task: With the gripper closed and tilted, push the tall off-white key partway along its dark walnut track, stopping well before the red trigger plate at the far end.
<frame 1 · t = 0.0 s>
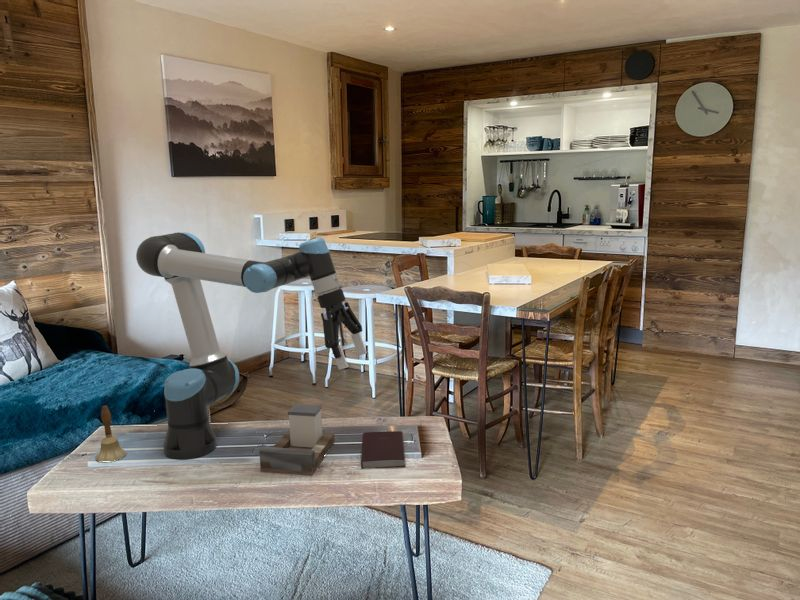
hand: (353, 361, 178), 28 cm above the table, tool tilted 20°, fingers open, 13 cm apart
hand bell: (111, 457, 183), on the table
key track: (301, 454, 182), on the table
book: (383, 454, 182), on the table
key: (305, 425, 186), point 7 cm above the table, slide at 0.0 cm
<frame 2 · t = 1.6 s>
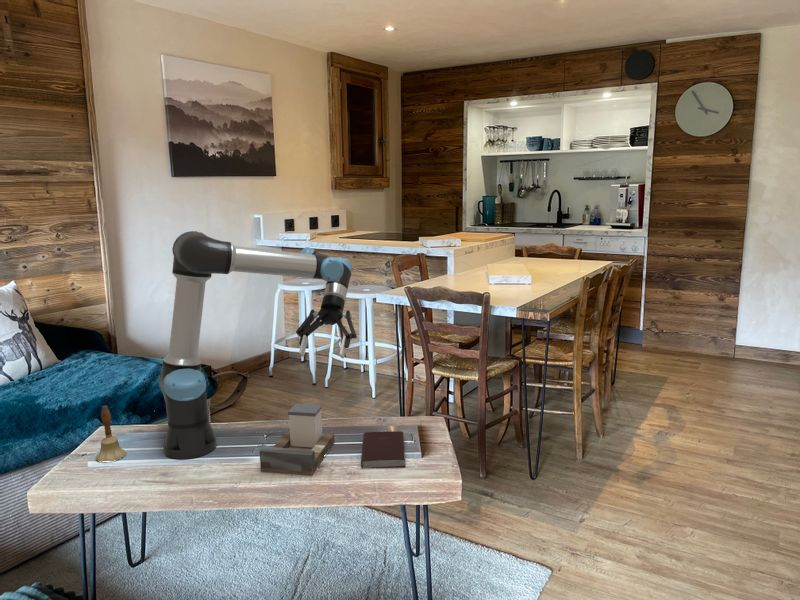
hand: (321, 355, 197), 24 cm above the table, tool tilted 45°, fingers open, 13 cm apart
nothing on the table moved.
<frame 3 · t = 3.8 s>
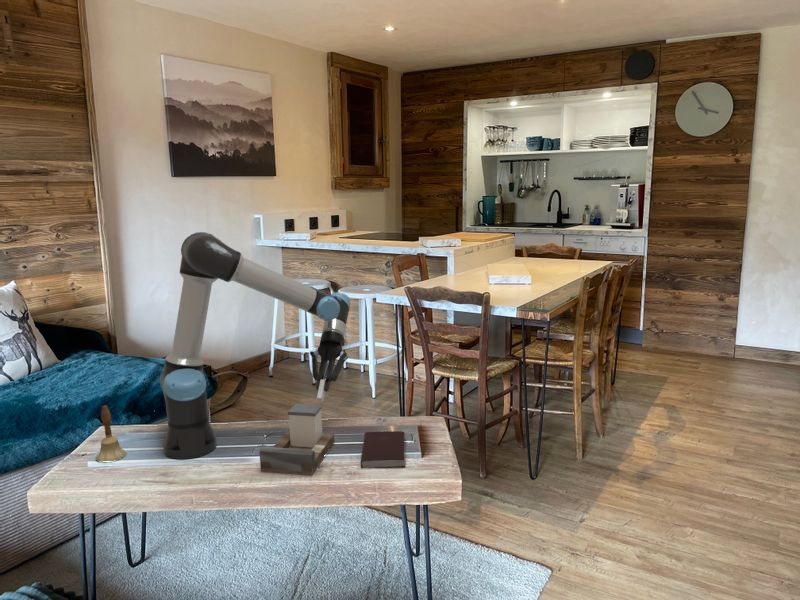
hand: (320, 399, 196), 10 cm above the table, tool tilted 45°, fingers closed
nothing on the table moved.
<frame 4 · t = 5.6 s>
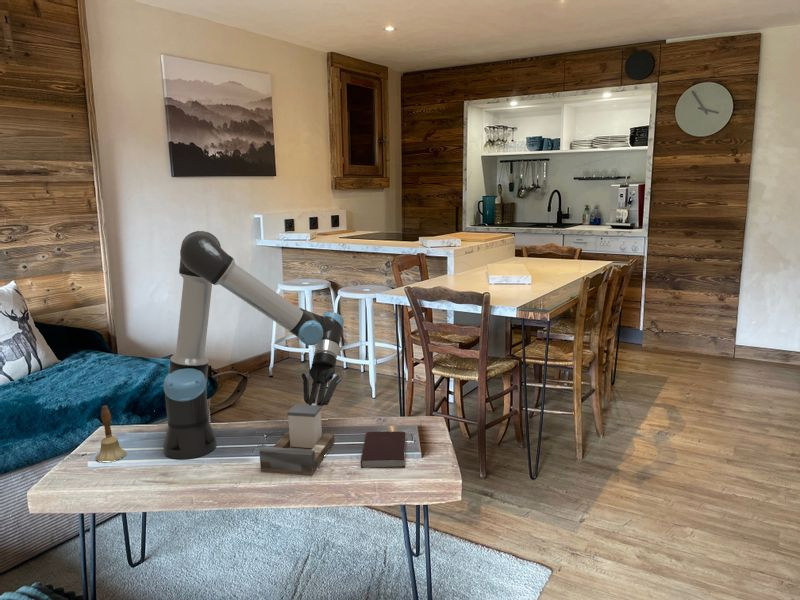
hand: (311, 424, 189), 5 cm above the table, tool tilted 45°, fingers closed
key: (305, 426, 185), point 7 cm above the table, slide at 0.4 cm, touching gripper
everything else where it was.
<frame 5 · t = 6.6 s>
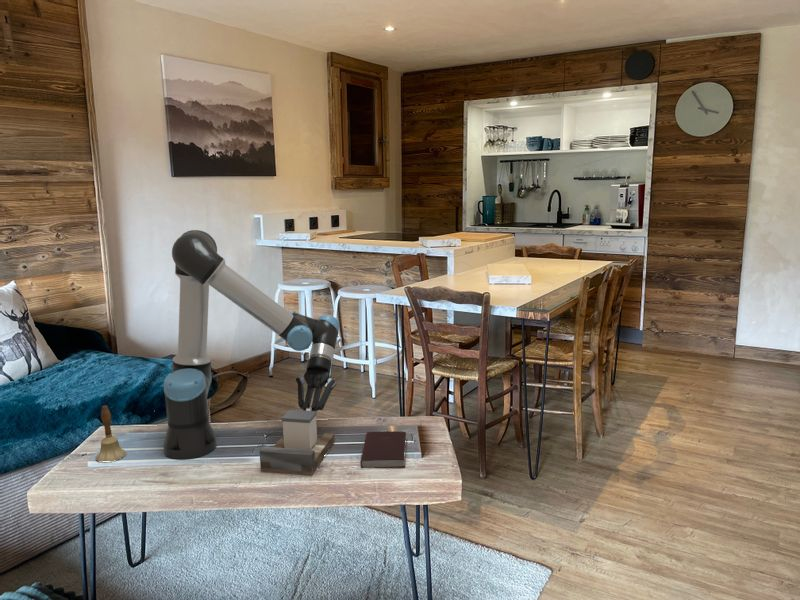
hand: (305, 430, 185), 6 cm above the table, tool tilted 45°, fingers closed
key: (300, 432, 181), point 7 cm above the table, slide at 4.9 cm, touching gripper
everything else where it was.
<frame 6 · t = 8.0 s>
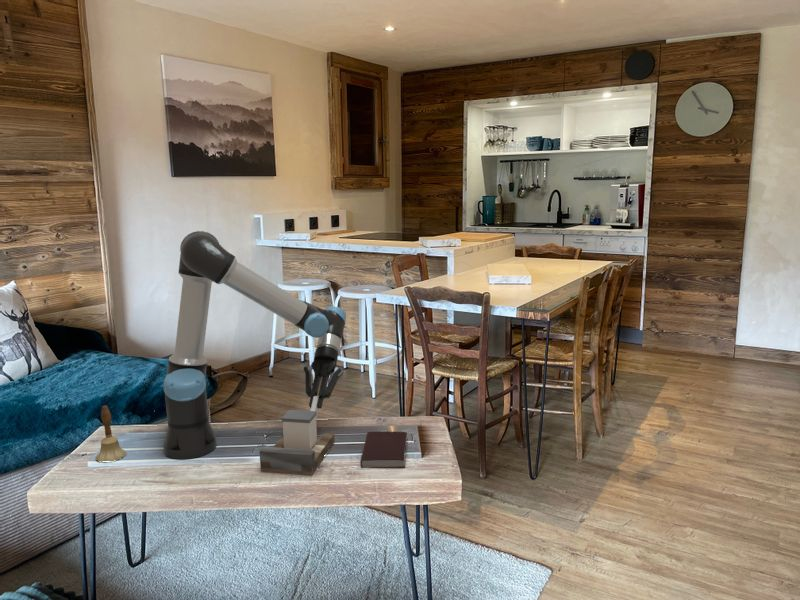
hand: (312, 417, 191), 7 cm above the table, tool tilted 45°, fingers closed
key: (300, 432, 181), point 7 cm above the table, slide at 5.0 cm
everything else where it was.
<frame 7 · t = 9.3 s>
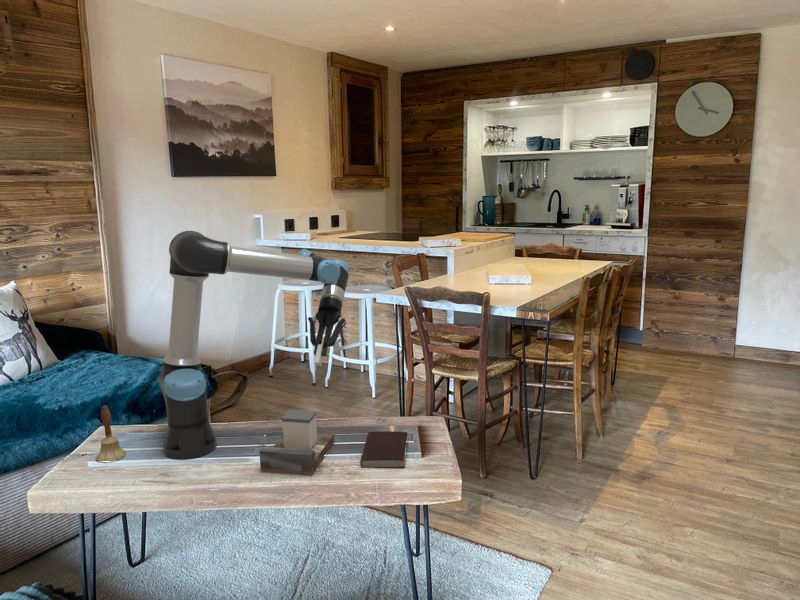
hand: (317, 364, 195), 22 cm above the table, tool tilted 45°, fingers closed
nothing on the table moved.
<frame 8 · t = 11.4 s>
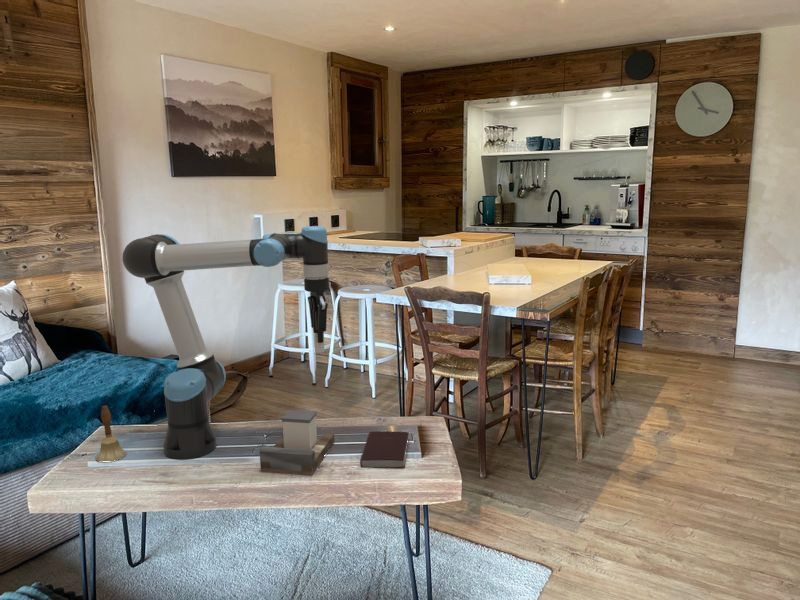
hand: (319, 351, 193), 26 cm above the table, tool pointing down, fingers closed
nothing on the table moved.
at the end: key slide at 5.0 cm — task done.
